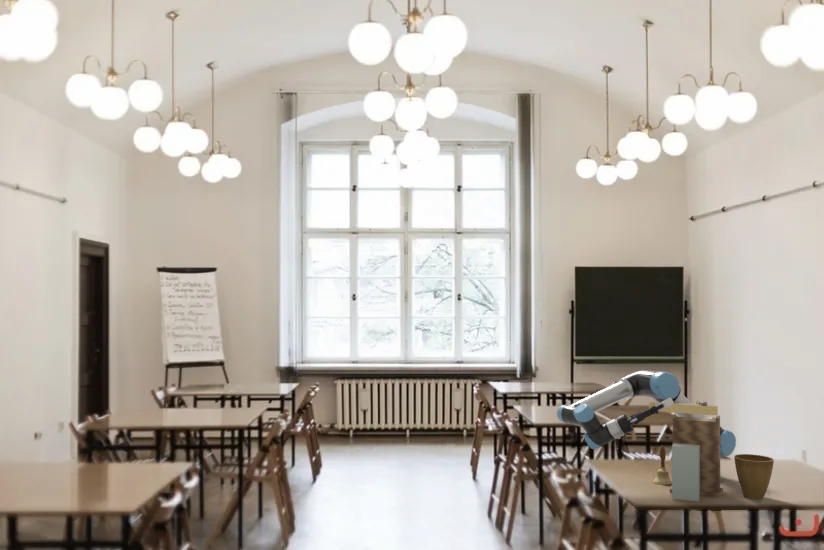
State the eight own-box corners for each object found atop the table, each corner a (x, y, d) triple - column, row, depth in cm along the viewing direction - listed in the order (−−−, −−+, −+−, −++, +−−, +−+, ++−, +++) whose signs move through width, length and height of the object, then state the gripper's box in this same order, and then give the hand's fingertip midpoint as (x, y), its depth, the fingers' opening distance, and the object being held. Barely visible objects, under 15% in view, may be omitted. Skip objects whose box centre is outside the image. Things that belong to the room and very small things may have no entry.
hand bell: (673, 485, 342) (673, 448, 343) (653, 484, 344) (653, 447, 344) (671, 481, 350) (671, 445, 351) (652, 480, 352) (652, 444, 353)
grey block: (672, 498, 317) (671, 445, 318) (673, 495, 324) (673, 443, 325) (698, 501, 313) (698, 447, 314) (699, 497, 320) (699, 445, 320)
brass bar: (648, 411, 324) (648, 399, 324) (650, 410, 327) (650, 398, 327) (717, 415, 313) (717, 403, 314) (717, 414, 317) (717, 402, 317)
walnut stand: (669, 492, 329) (669, 415, 330) (673, 486, 339) (672, 412, 341) (721, 497, 320) (721, 418, 322) (723, 491, 331) (722, 415, 333)
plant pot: (728, 496, 322) (727, 457, 322) (743, 491, 332) (743, 452, 333) (765, 503, 311) (765, 462, 312) (780, 497, 322) (779, 457, 322)
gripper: (628, 431, 337) (678, 407, 329) (621, 437, 321) (674, 411, 314) (619, 415, 338) (669, 390, 331) (612, 420, 323) (664, 394, 316)
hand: (671, 400), depth 322 cm, fingers closed on brass bar, 3 cm apart
